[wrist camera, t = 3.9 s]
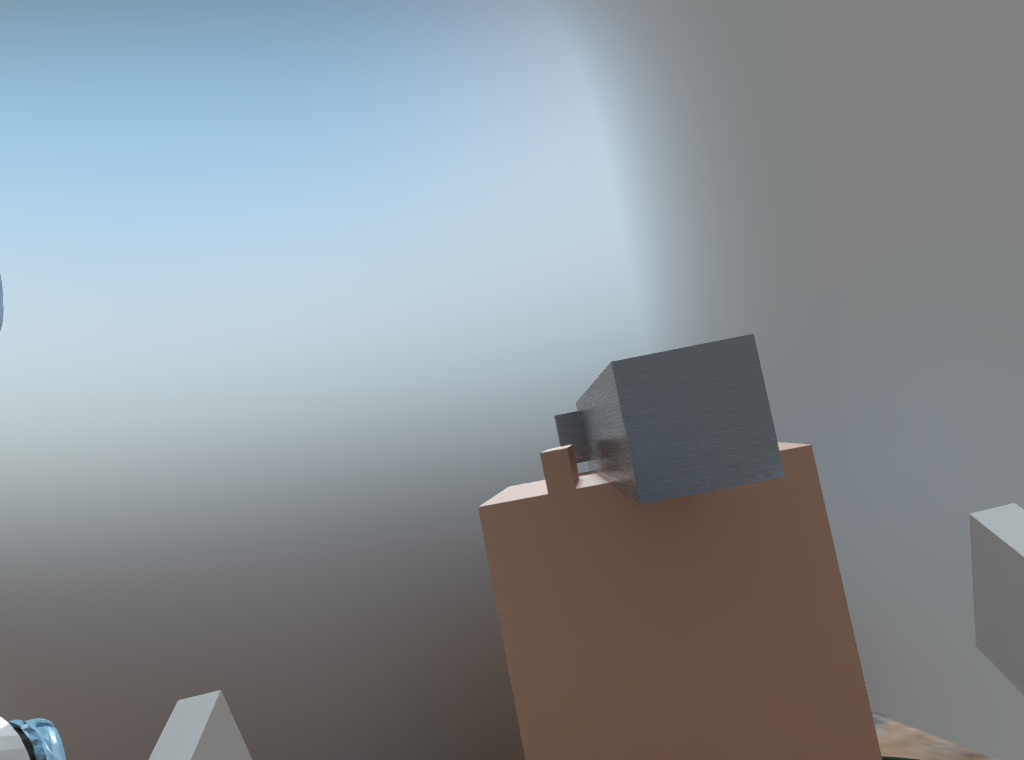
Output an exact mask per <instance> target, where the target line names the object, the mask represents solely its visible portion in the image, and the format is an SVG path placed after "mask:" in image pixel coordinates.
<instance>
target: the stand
mask: <svg viewBox="0 0 1024 760" xmlns="http://www.w3.org/2000/svg"><path fill="white" fill-rule="evenodd" d="M778 447H779V451H780V456H781V460H782V465H783V469H784V474H785V477H783V478H777V479H772V480H767V481H762V482H756V483H751V484H746V485H741V486H736V487H730V488H725V489H720V490H715V491H709V492H704V493H699V494H694V495H688V496H683V497H678V498H673V499H667V500H662V501H657V502H652V503H646V504H641V505H640V504H639V503H637V502H636V501H634V500H633V499H632V498H630V497H629V496H627V495H626V494H624V493H623V492H622V491H620V490H619V489H617V488H616V487H614V486H613V485H611V484H610V483H609V482H607V481H606V480H604V479H603V478H601V477H600V476H599V475H597V474H596V473H594V472H593V471H589V472H584V473H579V474H578V469H577V464H576V459H575V454H574V449H573V444H572V445H567V446H562V447H557V448H551V449H549V450H546V451H544V452H541V453H540V455H541V460H542V466H543V471H544V476H545V480H542V481H536V482H531V483H526V484H520V485H515V486H510V487H508V488H506V489H505V490H503V491H502V492H500V493H499V494H497V495H496V496H494V497H493V498H491V499H490V500H488V501H487V502H485V503H484V504H482V505H481V506H479V507H478V508H479V514H480V519H481V525H482V530H483V535H484V541H485V546H486V551H487V556H488V562H489V567H490V573H491V578H492V583H493V589H494V594H495V599H496V604H497V609H498V615H499V620H500V626H501V631H502V636H503V642H504V647H505V652H506V657H507V663H508V668H509V673H510V679H511V684H512V689H513V695H514V700H515V706H516V711H517V716H518V722H519V727H520V732H521V738H522V743H523V748H524V753H525V759H526V760H882V757H881V753H880V748H879V744H878V739H877V735H876V730H875V726H874V721H873V717H872V713H871V708H870V704H869V700H868V695H867V691H866V686H865V681H864V677H863V673H862V668H861V664H860V660H859V655H858V650H857V646H856V641H855V637H854V633H853V628H852V624H851V619H850V615H849V611H848V606H847V601H846V597H845V592H844V588H843V584H842V579H841V575H840V571H839V566H838V561H837V557H836V552H835V548H834V544H833V540H832V535H831V530H830V526H829V521H828V517H827V512H826V508H825V504H824V499H823V495H822V490H821V486H820V481H819V477H818V472H817V468H816V463H815V459H814V455H813V450H812V446H811V445H807V444H795V443H782V442H778Z"/></svg>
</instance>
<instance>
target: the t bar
mask: <svg viewBox="0 0 1024 760" xmlns="http://www.w3.org/2000/svg"><path fill="white" fill-rule="evenodd" d="M576 406H577V411H576V412H571V413H566V414H561V415H556V416H555V417H554V418H555V423H556V428H557V433H558V438H559V443H560V447H562V446H567V445H572V444H573V449H574V454H575V459H576V463H580V462H584V461H588V466H589V469H590V470H591V471H593V472H594V473H596V474H597V475H599V476H600V477H601V478H603V479H604V480H606V481H607V482H609V483H610V484H611V485H613V486H614V487H616V488H617V489H619V490H620V491H622V492H623V493H624V494H626V495H627V496H629V497H630V498H632V499H633V500H634V501H636V502H637V503H639V504H640V505H641V504H646V503H652V502H657V501H662V500H667V499H673V498H678V497H683V496H688V495H694V494H699V493H704V492H709V491H715V490H720V489H725V488H730V487H736V486H741V485H746V484H751V483H756V482H762V481H767V480H772V479H777V478H783V477H785V474H784V469H783V465H782V460H781V456H780V451H779V447H778V442H777V438H776V433H775V429H774V424H773V420H772V415H771V411H770V406H769V402H768V397H767V392H766V388H765V383H764V379H763V374H762V370H761V366H760V361H759V356H758V352H757V347H756V343H755V338H754V335H753V334H751V335H746V336H740V337H736V338H730V339H725V340H720V341H715V342H710V343H705V344H700V345H695V346H690V347H685V348H679V349H674V350H669V351H665V352H659V353H654V354H649V355H644V356H639V357H634V358H629V359H623V360H619V361H614V362H611V363H610V364H609V365H608V366H607V367H606V369H605V370H604V371H603V372H602V373H601V374H600V375H599V377H598V378H597V379H596V381H594V383H593V384H592V385H591V386H590V387H589V389H587V391H586V392H585V393H584V394H583V395H582V396H581V398H580V399H579V400H578V401H577V403H576Z"/></svg>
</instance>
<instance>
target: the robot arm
mask: <svg viewBox="0 0 1024 760" xmlns="http://www.w3.org/2000/svg"><path fill="white" fill-rule="evenodd" d="M2 292H3V291H2V282H1V276H0V330H1V326H2V322H3V310H4V307H3V293H2ZM969 515H970V533H971V534H970V535H971V554H972V573H973V574H972V575H973V594H974V615H975V633H976V646H977V647H978V648H979V649H980V650H981V652H983V654H984V655H985V656H986V657H987V658H988V659H989V660H990V661H991V662H992V663H993V664H994V665H995V666H996V667H997V668H998V669H999V670H1000V671H1001V672H1002V673H1003V675H1004V676H1005V677H1006V678H1007V679H1008V680H1009V681H1010V682H1011V683H1012V684H1013V685H1014V686H1015V687H1016V688H1017V689H1018V690H1019V691H1020V692H1021V693H1022V694H1023V695H1024V510H1023V509H1022V508H1020V507H1019V506H1018V505H1016V504H1015V503H1013V504H1009V505H1005V506H1001V507H996V508H992V509H988V510H984V511H980V512H975V513H971V514H969ZM0 760H66V757H65V753H64V748H63V745H62V741H61V738H60V736H59V734H58V731H57V729H55V727H54V725H53V723H52V722H51V721H48V720H46V719H42V718H36V719H32V720H27V721H21V720H12V721H9V722H6V721H5V720H4V719H3V718H1V717H0ZM149 760H252V759H251V756H250V754H249V752H248V749H247V747H246V745H245V743H244V741H243V739H242V736H241V734H240V732H239V730H238V727H237V725H236V723H235V721H234V718H233V716H232V714H231V712H230V710H229V708H228V705H227V703H226V701H225V699H224V696H223V694H222V692H221V690H220V691H216V692H212V693H208V694H203V695H199V696H195V697H190V698H186V699H182V700H178V702H177V705H176V706H175V708H174V710H173V712H172V714H171V716H170V718H169V720H168V722H167V724H166V726H165V728H164V730H163V732H162V734H161V736H160V738H159V740H158V742H157V744H156V746H155V748H154V750H153V752H152V754H151V756H150V758H149Z"/></svg>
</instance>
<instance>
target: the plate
mask: <svg viewBox="0 0 1024 760" xmlns="http://www.w3.org/2000/svg"><path fill="white" fill-rule="evenodd" d="M881 757H882V756H881ZM882 760H918V759H910V758H899V757H882Z"/></svg>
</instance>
